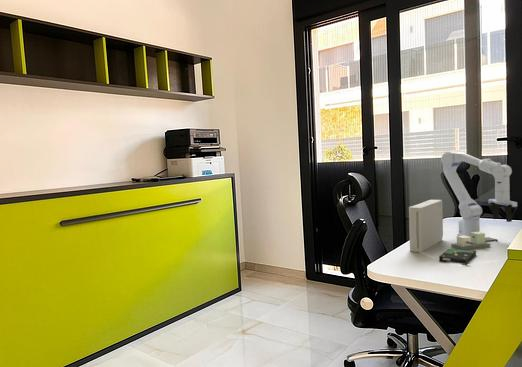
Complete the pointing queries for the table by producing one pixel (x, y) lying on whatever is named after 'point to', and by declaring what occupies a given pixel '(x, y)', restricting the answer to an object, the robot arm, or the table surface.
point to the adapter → (464, 240)
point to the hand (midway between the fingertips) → (502, 220)
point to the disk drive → (457, 256)
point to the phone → (490, 239)
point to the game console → (425, 225)
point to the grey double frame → (473, 246)
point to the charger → (477, 238)
